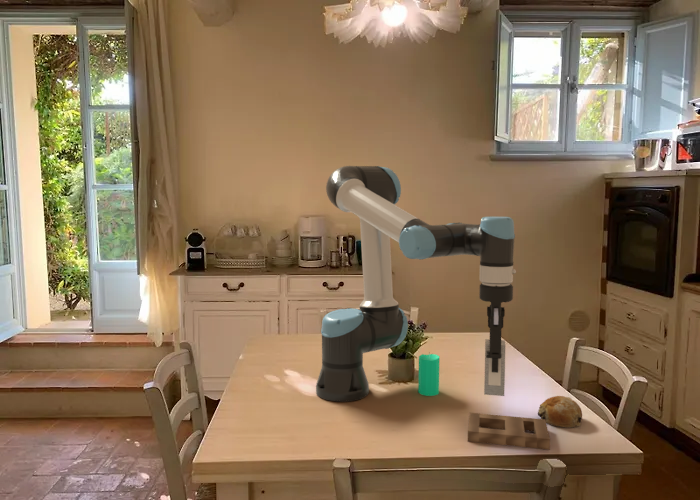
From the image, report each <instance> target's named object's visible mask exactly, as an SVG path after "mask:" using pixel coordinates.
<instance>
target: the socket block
mask: <svg viewBox="0 0 700 500" xmlns="http://www.w3.org/2000/svg"><path fill="white" fill-rule="evenodd" d="M547 425H548V424H547V423H546V421H545V419H541V418H533V417H532V418H531V417H522V416H521V417H520V416H513V415H512V416H511V415H501V414H500V415H499V414H489V413H480V412H469V413H468V427H467V442H471V443H479V444H480V443H481V444H488V445H489V444H491V445H499V446H502V445H503V446H509V447H520V448H528V449H529V448H530V449H539V450H540V449H541V450H547V451H550V448H551V445H550V444H551V438H550V433H549V429H548V426H547ZM528 432H533V433H528Z"/></svg>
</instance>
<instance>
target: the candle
mask: <svg viewBox="0 0 700 500" xmlns="http://www.w3.org/2000/svg"><path fill="white" fill-rule="evenodd" d="M417 383H418V384H417V385H418V387H417V389H418V390H417V391H418V392H417V393H418V394H420V395H422V396H428V397H432V396H438V395H439V394H440V356H439V355H438V354H435V353H428V354H424V353H422V354H420V355H419V356H418V381H417Z"/></svg>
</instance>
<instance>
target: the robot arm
mask: <svg viewBox="0 0 700 500" xmlns="http://www.w3.org/2000/svg"><path fill="white" fill-rule="evenodd" d="M325 191H326V197H328V200H329V202H330V203H331V204H332V205H333V206H335V207H336V208H337V209H339V210H341V211H342V212H344V213H352V214H354V215H355V216H357V217H358V218H359V223H360V225H359V226H360V242H361V243H360V244H361V247H360V248H361V261H362V263H361V264H362V279H363V282H362V283H363V300H362V301H361V302H360V304H359V309H358V308H351V307H350V308H339V309H336V310H332V311H329V312H328V313H326V314H325V315H324V316H323V317H322V319H321V320H322V321H321V330H320V332H321V369H320V372H319V375H318V378H317V381H316V384H315V385H316V386H315V387H316V388H315V394H316V396H317V397H319V398H321V399H324V400H327V401H331V402H341V403H342V402H354V401H358V400H361V399H364V398H365V397H367V396H368V395H369V392H370V384H369V382H368V378H367V375H366V371H365V369H364V365H363V364H364V354H365V353H370V352H375V351H379V350H387V349H391V348H394V347H396V346H399V345H400V344H402V342H404V340H405V339H406V336H407V333H408V329H409V324H408V323H409V322H408V317H407V316H406V315H405V311H404V310H403V309H402V308H400V307H399V302H398V301H397V300H396V299H395V298H394V292H393V290H394V289H393V273H392V256H391V255H392V252H391V251H392V250H391V239H392V240H394V241H396V242H397V243H398V245H399V246H398V247H399V249H400V251H401V252H402V255H403V256H405V258H407V259H410V260H426V259H433V258H441V257H451V256H452V257H454V256H462V255H463V256H464V255H465V256H466V255H467V256H475V257H479V282H481V283H480V284H479V293H478V294H479V297H478V298H479V300H480V301H483V302H489V303H490V305H489V306H486V316H487V327H488V328H489V340H490V354H489V355H486V358H489V379H488V385H497V386H500V385H501V357H502V354H501V340H502V329H504V319H505V318H504V317H505V316H506V315H505V314H506V313H505V312H506V311H505V310H506V309H505V306H502V303H509V302H512V301H513V298H514V286H513V284H512V283H514V282H513V281H514V275H513V274H516V273H517V270H516V269H515V268H514V251H515V238H516V237H515V236H516V234H515V222H514V219H513V218H512V217H510V216H483V217H482V218H481V219H480V224H476V223H474V224H473V223H463V222H453V223H452V222H451V223H447V224H429V223H427V222H425V221H423V220H421V219H420V218H418V217H416V216H415V215H414V214H411V213H410V212H408V211H406V210H405V209H403V208H401V207H399V206H398V205H396V204H397V203H398V202H399V200H400V199H399V198H401V194H402V188H401V182H400V178H399V177H398V175H397V173H395V171H393V170H392V169H391V168H389V167H384V166H379V165H373V166H372V165H369V166H367V165H366V166H365V165H364V166H363V165H346V166H345V165H344V166H341V167H339V168H337V169H335V170H334V171H333V172H332V173H331V174H330V176H329V177H328V179H327V181H326V186H325Z"/></svg>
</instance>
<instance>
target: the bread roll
mask: <svg viewBox="0 0 700 500" xmlns="http://www.w3.org/2000/svg"><path fill="white" fill-rule="evenodd" d="M537 416H538V417H539V418H540V419H545V421H546V424H547V425H551V426H554V427H560V428H568V429H570V428H578V427H581V425H582V419H583V411H582V408H581V407H580V405H579V404H578V403H577V402H576V401H575V400H573V399H572V398H571V397H569V396H563V395H555V396H551V397H549V398H547V399H545V400H544V402H542V403H541V404H539V407H538V411H537Z"/></svg>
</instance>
